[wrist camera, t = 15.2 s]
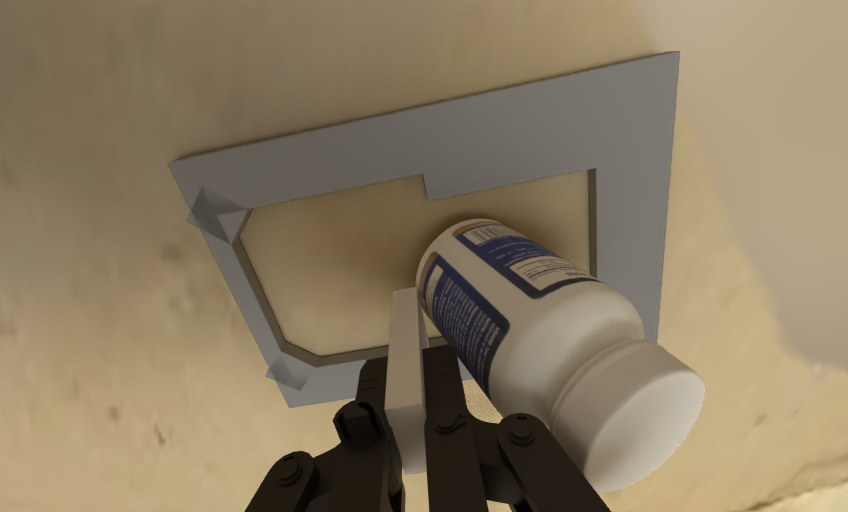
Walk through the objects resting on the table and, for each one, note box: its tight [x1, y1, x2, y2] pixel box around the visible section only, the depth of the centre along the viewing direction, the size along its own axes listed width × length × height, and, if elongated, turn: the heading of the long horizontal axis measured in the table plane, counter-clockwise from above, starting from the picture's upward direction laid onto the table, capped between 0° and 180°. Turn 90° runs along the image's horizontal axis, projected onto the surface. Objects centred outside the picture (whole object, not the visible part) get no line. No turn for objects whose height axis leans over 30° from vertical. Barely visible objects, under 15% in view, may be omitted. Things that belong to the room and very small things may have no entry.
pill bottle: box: [416, 219, 705, 493], centre depth 14 cm, size 5×5×10 cm
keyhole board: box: [167, 51, 680, 408], centre depth 18 cm, size 14×20×1 cm
